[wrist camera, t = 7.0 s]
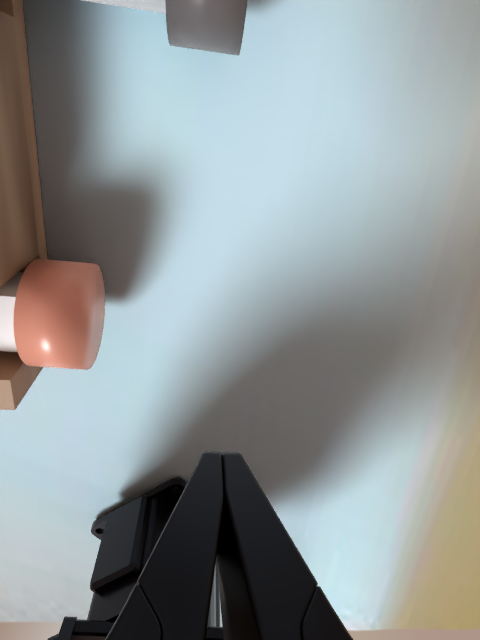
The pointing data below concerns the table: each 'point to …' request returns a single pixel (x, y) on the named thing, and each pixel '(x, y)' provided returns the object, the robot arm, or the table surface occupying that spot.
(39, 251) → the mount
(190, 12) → the white and gray knob
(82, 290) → the red knob
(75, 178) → the table surface
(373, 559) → the table surface
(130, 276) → the table surface
